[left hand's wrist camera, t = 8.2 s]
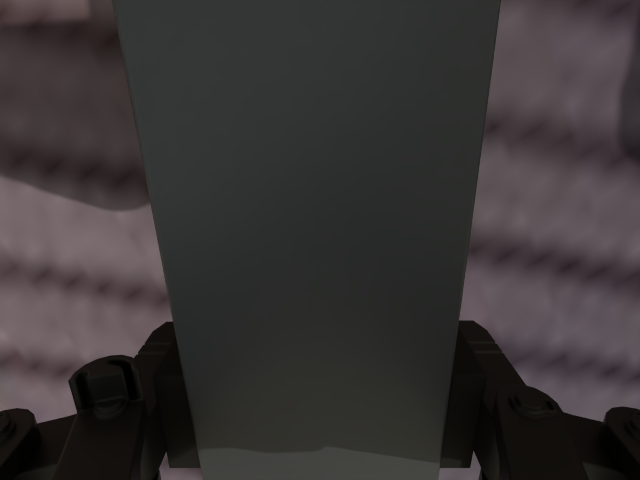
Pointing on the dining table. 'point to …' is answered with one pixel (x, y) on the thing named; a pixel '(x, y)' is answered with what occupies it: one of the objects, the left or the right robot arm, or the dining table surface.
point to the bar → (312, 220)
